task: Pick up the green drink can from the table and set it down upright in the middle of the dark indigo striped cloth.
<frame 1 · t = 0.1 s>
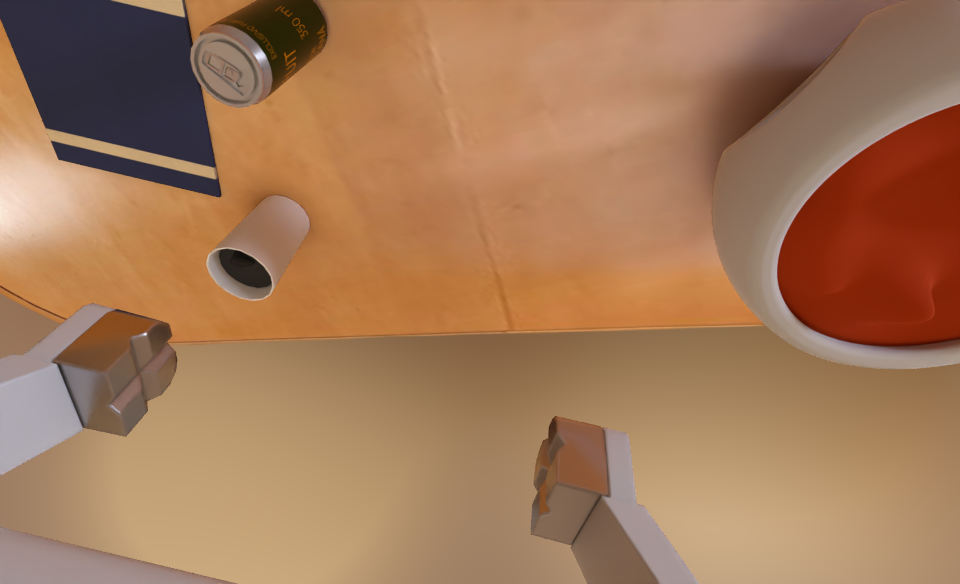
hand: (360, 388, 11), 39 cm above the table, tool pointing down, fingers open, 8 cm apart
white coffee cup: (285, 216, 59), on the table
green drink can: (300, 21, 44), on the table
cloth: (111, 76, 50), on the table
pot: (848, 124, 43), on the table
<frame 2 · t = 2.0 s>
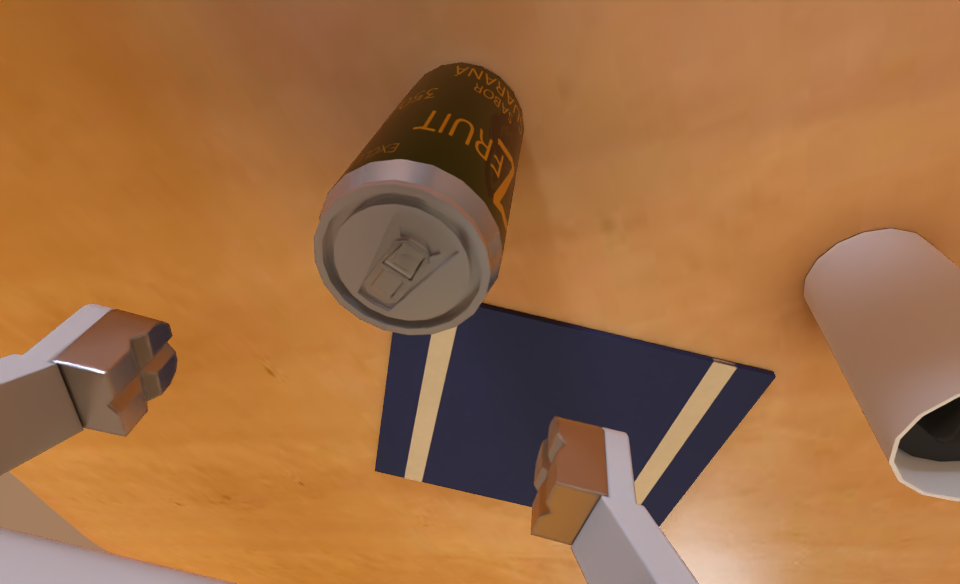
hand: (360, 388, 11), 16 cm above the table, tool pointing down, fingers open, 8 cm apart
white coffee cup: (866, 277, 26), on the table
green drink can: (466, 119, 24), on the table
cloth: (545, 426, 36), on the table
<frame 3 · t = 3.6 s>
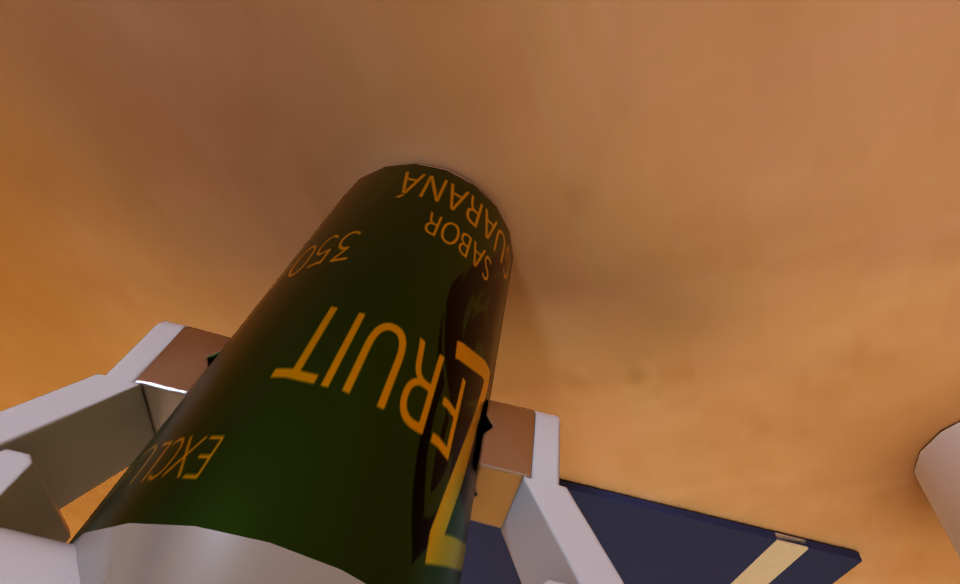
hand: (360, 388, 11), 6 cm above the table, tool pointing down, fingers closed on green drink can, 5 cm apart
green drink can: (428, 234, 16), on the table, touching gripper
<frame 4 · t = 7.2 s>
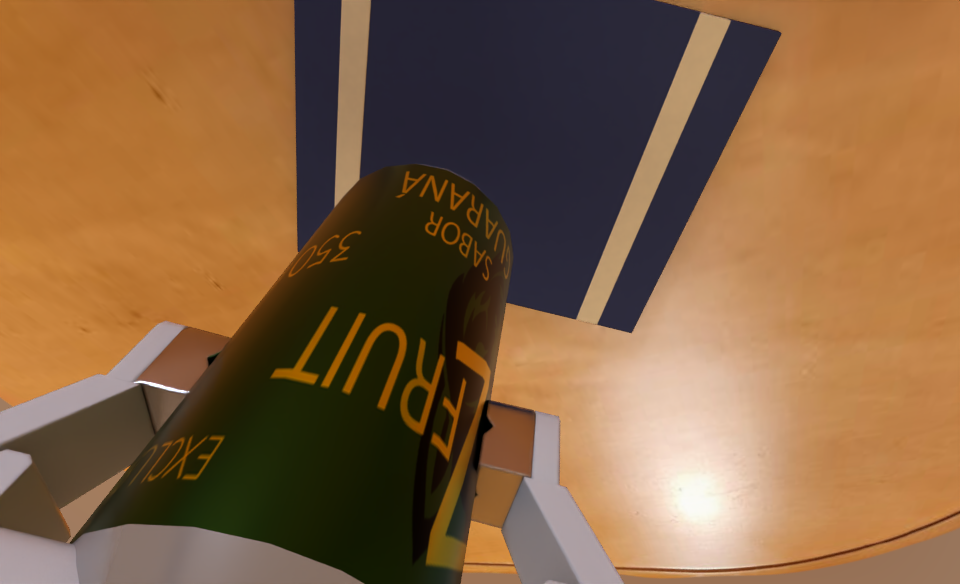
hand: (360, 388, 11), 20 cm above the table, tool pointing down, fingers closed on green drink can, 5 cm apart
green drink can: (429, 234, 16), point 13 cm above the table, touching gripper
cloth: (495, 159, 29), on the table
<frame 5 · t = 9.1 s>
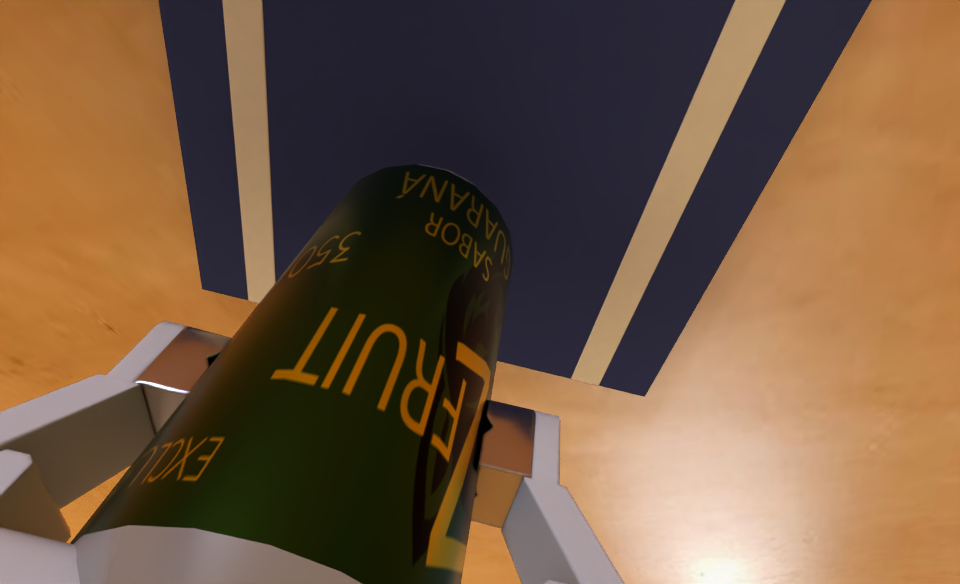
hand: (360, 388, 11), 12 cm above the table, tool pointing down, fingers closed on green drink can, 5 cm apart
green drink can: (429, 235, 16), point 5 cm above the table, touching gripper
cloth: (456, 169, 21), on the table
when the fingers open (7 cm above the table, at t = 10.8 s): green drink can stays where it is, resting on cloth.
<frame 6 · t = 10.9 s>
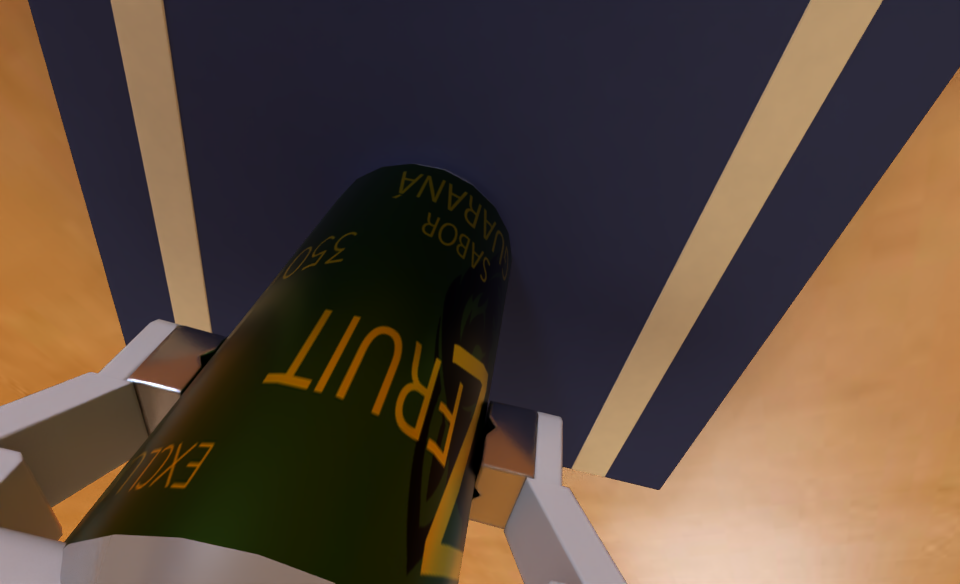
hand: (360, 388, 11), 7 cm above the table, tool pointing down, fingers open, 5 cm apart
green drink can: (426, 235, 16), resting on cloth
cloth: (427, 233, 16), on the table
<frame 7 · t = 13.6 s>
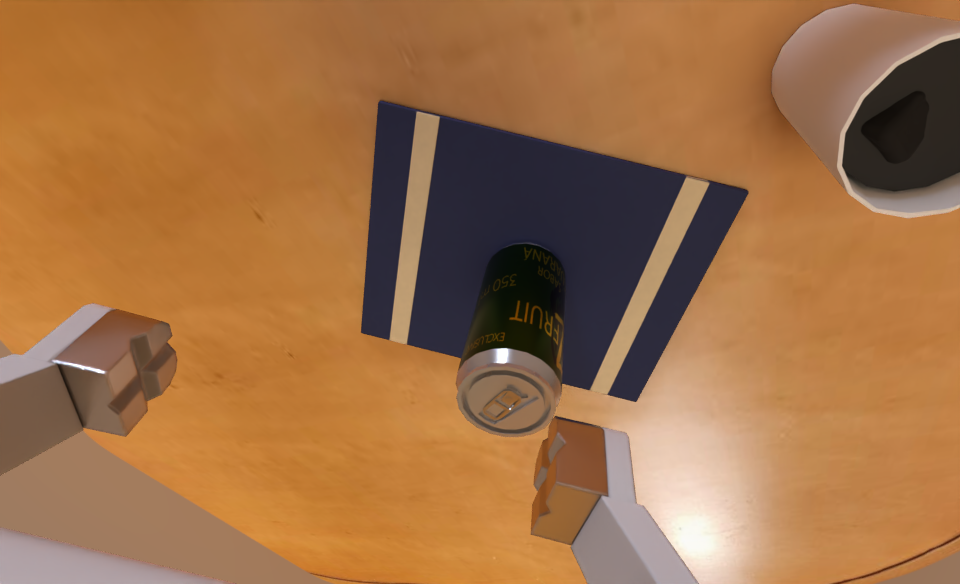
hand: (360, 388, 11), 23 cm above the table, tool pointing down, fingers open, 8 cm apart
white coffee cup: (832, 67, 27), on the table
green drink can: (526, 271, 36), resting on cloth
cloth: (526, 270, 36), on the table
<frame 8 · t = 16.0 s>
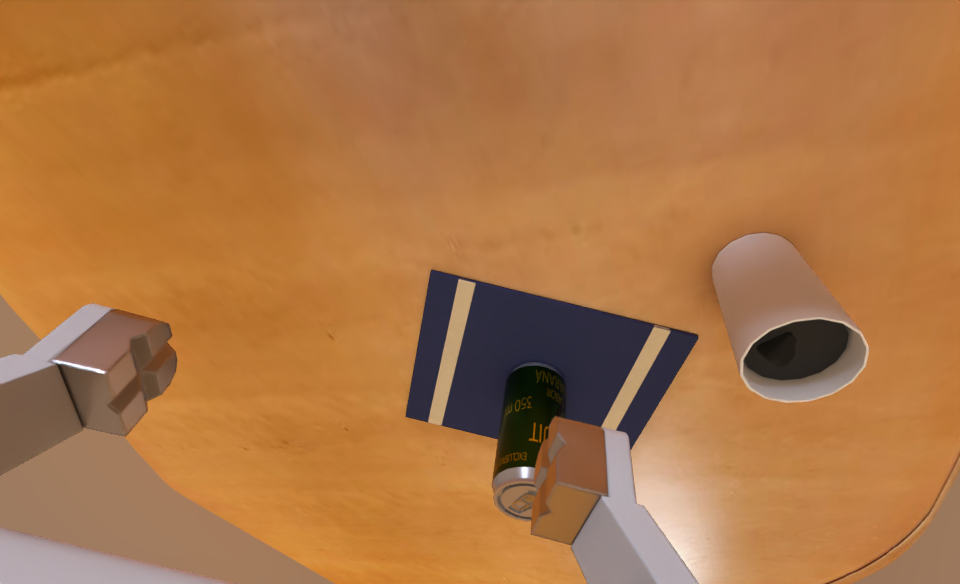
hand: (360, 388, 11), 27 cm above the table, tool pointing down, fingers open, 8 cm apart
white coffee cup: (753, 266, 38), on the table
green drink can: (536, 379, 48), resting on cloth
cloth: (536, 378, 48), on the table
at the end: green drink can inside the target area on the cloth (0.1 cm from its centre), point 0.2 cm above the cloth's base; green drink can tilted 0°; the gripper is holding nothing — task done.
